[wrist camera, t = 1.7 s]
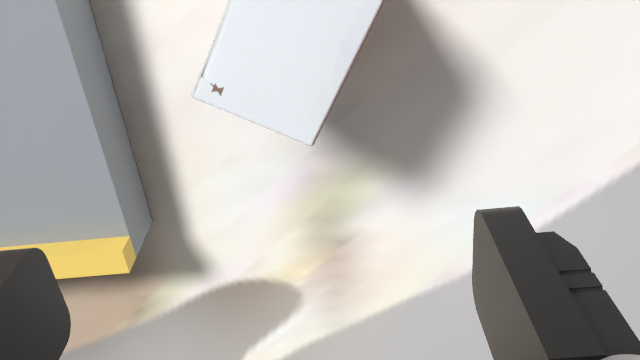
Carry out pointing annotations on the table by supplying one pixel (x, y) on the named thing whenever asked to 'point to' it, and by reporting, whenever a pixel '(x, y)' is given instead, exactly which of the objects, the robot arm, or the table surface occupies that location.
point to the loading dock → (65, 144)
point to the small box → (284, 60)
